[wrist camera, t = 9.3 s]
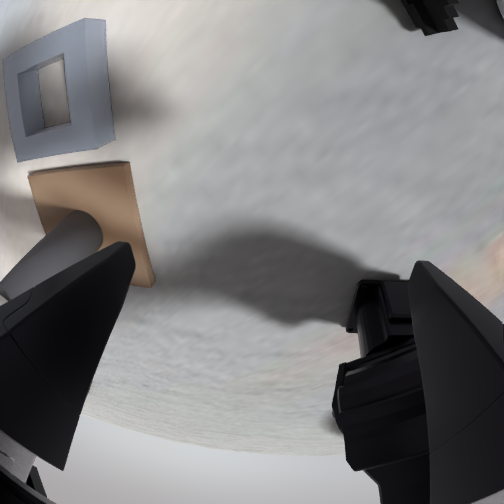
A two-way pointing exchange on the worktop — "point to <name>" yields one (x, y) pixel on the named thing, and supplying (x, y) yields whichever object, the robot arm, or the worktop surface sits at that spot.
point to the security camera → (432, 15)
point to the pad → (96, 206)
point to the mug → (501, 6)
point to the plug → (53, 254)
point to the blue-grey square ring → (78, 91)
